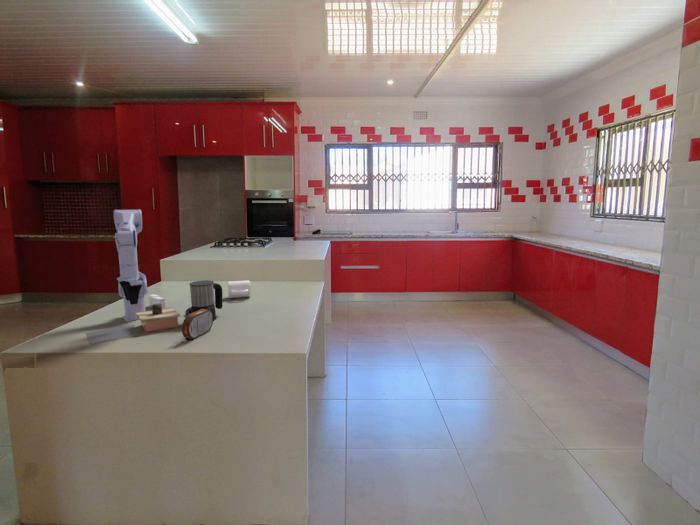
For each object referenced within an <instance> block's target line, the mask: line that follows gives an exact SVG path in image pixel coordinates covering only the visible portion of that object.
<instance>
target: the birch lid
mask: <svg viewBox="0 0 700 525" xmlns="http://www.w3.org/2000/svg"><path fill="white" fill-rule="evenodd" d="M135 315H136V316H137V317H138V318H139V319H140V323H141V322H142V323H143V322H149V321H155V320H161V319H167V318H173V317H178V318H180V317H181V314H180V313H179V312H178V311H176V310H175V309H174V308H172V307H165V308H163V309H162V304H154V305H152V306H151V310H145V311H143V312H137V313H135Z"/></svg>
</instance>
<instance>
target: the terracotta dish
mask: <svg viewBox="0 0 700 525" xmlns="http://www.w3.org/2000/svg"><path fill="white" fill-rule="evenodd" d="M178 318H179V317H173V318H167V319H161V320H155V321H149V322H143V323H142V322H141V321H140V326H141V328H143V330H144V331H145V332H146V333H151V332H155V331H157V332H158V331H163V330H169V329H173V328H178V327H179V319H178Z"/></svg>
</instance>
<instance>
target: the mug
mask: <svg viewBox="0 0 700 525" xmlns="http://www.w3.org/2000/svg"><path fill="white" fill-rule="evenodd" d="M227 291H228V299H238V298H239V299H240V298H250V297H251V281H250V280H249V279H247V280H234V281H227Z"/></svg>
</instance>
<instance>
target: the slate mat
mask: <svg viewBox="0 0 700 525" xmlns="http://www.w3.org/2000/svg"><path fill="white" fill-rule="evenodd" d="M85 334H86V337H87V340H88V343H89V345H94V344H101V343H105V342H111V341H117V340H122V339H130V338H134V337H139V336H142V335H141V333H140V331H139V330H138V328H136V326H135V325H134V324H132V325H125V326H118V327H112V328H106V329H99V330H94V331H88V332H85Z"/></svg>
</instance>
